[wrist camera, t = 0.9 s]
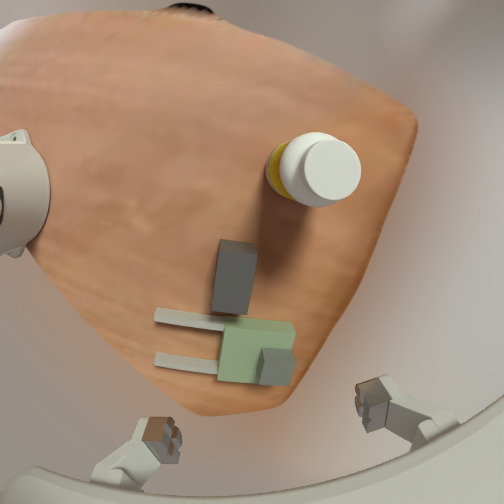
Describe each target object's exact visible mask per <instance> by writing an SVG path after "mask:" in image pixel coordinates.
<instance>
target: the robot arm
mask: <svg viewBox="0 0 504 504" xmlns="http://www.w3.org/2000/svg"><path fill="white" fill-rule="evenodd" d="M15 139H16V141H15ZM49 199H50V185H49V178H48V173H47V169H46V166H45V164H44V161H43V159H42V158H41V156H40V155H39V153H38V152H37V151H36V150H35V149H34V148H33V146H32V145H31V141H30V138H29V134H28V132H27V130H26V129H19V130H16V131H14V132H12V133H9V134H7V135H5V136H2V137H0V256H1V255H3V254H8V255H10V256H11V257H13V258H17V257H20V256H21V255H22V253H23V251H24V249H25V247H26V244H27V243H28V242H29V241H30V240H32V239H33V238H34V237H35V236H36V235H37V234H38V232H39V231H40V230H41V228H42V226H43V224H44V222H45V219H46V216H47V212H48V207H49ZM355 391H356V394H357V396H356V397H355V406H356V410H357V412H358V415H359V416H360V417H362V418H363V419H362V423H363V426H364V428H365V430H366V432H367V433H369V432H372V431H375V430H378V429H381V428H384V427H385V428H386V429H388V430H390V431H391V432H393V433H395V434H397V435H398V436H400V437H402V438H404V439H405V440H407V441H409V442H411V443H412V446H411V449H410V451H409V452H408V453H406V454H404V455H401V456H399V457H396V458H394V459H392V460H389V461H387V462H384V463H382V464H379V465H376V466H374V467H371V468H368V469H365V470H362V471H359V472H356V473H353V474H350V475H346V476H343V477H339V478H336V479H332V480H329V481H325V482H320V483H316V484H312V485H307V486H302V487H298V488H292V489H286V490H281V491H273V492H266V493H257V494H248V495H235V496H207V497H206V496H174V495H161V494H151V493H145V492H144V491H143V490H142V489H141V487H142V485H143V484H144V483H145V482H146V481H147V480H148V479H149V478H150V477H151V476H152V474H153V473H154V472H155V471H156V470H157V469H158V468H159V467H160V466H161V464H178V460H179V455H180V452H179V451H178V449H179V448H180V447H181V445H182V435H181V432H180V430H179V428H178V427H176V426H174V423H175V421H174V420H173V418H172V417H141V418H140V419H139V420H138V423H137V425H136V428H135V431H134V433H133V436H132V439H131V441H127V442H126V443H125V444H123V445H122V446H121V447H120V448H118V449H117V450H115V451H114V452H113V453H111V454H110V455H109V456H107V457H106V458H105V459H103V460H102V461H101V462H99V463H98V464H97V465H96V466H95V469H94V471H93V474H92V476H91V479H90V481H89V482H86V481H82V480H79V479H75V478H71V477H68V476H65V475H62V474H59V473H56V472H53V471H50V470H47V469H45V468H42V467H39V466H31V467H29V468H26V469H24V470H22V471H21V472H19V473H17V474H15V475H13V476H12V477H11V478H10V479H9V481H8V482H7V483H6V485H5V486H4V488H3V490H2V491H1V492H0V504H504V395H502V396H501V397H500V398H499V399H497V400H496V401H495V402H493V403H492V404H490V405H489V406H488V407H486V408H485V409H484V410H482V411H481V412H479V413H478V414H476V415H475V416H473V417H472V418H470V419H469V420H467V421H466V422H464V423H462V424H461V425H460V423H459V422H458V421H457V419H456V418H455V417H454V416H453V414H452V413H451V412H450V410H449V409H448V408H445V407H443V406H439V405H437V404H434V403H431V402H428V401H425V400H422V399H419V398H416V397H413V396H410V395H408V394H405V395H403V394H402V392H401V391H400V390H399V388H398V387H397V385H396V384H395V382H394V381H393V380H392V379H391V377H390V375H389V374H385V375H382V376H379V377H377V378H373V379H370V380H368V381H365V382H362V383H359V384H356V386H355Z"/></svg>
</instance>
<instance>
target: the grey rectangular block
mask: <svg viewBox="0 0 504 504" xmlns="http://www.w3.org/2000/svg"><path fill="white" fill-rule="evenodd" d="M257 259H258V254H257V251H256V249H255V246H254V244H251V243H245V242H238V241H231V240H224V239H220V245H219V251H218V258H217V265H216V272H215V279H214V286H213V294H212V306H211V311H217V312H225V313H233V314H242V315H247V311H248V306H249V301H250V296H251V291H252V285H253V280H254V275H255V270H256V264H257Z"/></svg>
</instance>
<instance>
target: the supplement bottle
mask: <svg viewBox="0 0 504 504" xmlns="http://www.w3.org/2000/svg"><path fill="white" fill-rule="evenodd" d="M360 176H361V166H360V161H359V159H358V156H357V155H356V153H355V152H354V150H353V149H352V148H351V147H350V146H349V145H347V144H346V143H344V142H342V141H339V140H337V139H336V138H334V137H332V136H330V135H328V134H324V133H318V132H313V133H307V134H303V135H301V136H299V137H297V138H295V139H292V140H290V141H288V142H286V143H283V144H281V145H279V146H278V147H276V148H275V149H274V150H273V151H272V152H271V154H270V155H269V157H268V159H267V162H266V177H267V180H268V182H269V184H270V186H271V187H272V188H273V189H274V190H275V191H276V192H277V193H278V194H280V195H282V196H284V197H286V198H289V199H292V200H294V201H297V202H299V203H302V204H304V205H307V206H311V207H325V206H329V205H332V204H334V203H336V202H337V201H339V200H341V199H344V198H346V197H347V196H349V195H350V194H351V193H352V192H353V191H354V190H355V189H356V187H357V186H358V183H359V181H360Z"/></svg>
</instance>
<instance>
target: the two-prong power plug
mask: <svg viewBox="0 0 504 504" xmlns="http://www.w3.org/2000/svg"><path fill="white" fill-rule="evenodd" d="M154 321H157V322H163V323H169V324H175V325H182V326H188V327H195V328H203V329H210V330H218V331H223V332H222V339H221V345H220V352H219V359H218V361H216V360H208V359H200V358H192V357H185V356H179V355H172V354H166V353H160V352H157V353H156V356H155V359H154V365H155V366H160V367H166V368H172V369H179V370H185V371H193V372H200V373H208V374H217V380H219V381H229V382H242V383H257V384H258V385H273V386H289V383H290V380H291V378H292V375H293V372H294V369H295V366H296V360H295V358H294V355H293V352H292V350H291V349H292V345H293V342H294V339H295V335H296V332H295V330H294V328H293V325H292V323H291V322H285V321H274V320H263V319H254V318H244V317H236V316H227V315H225V317H222V316H214V315H206V314H199V313H192V312H185V311H179V310H172V309H166V308H160V307H157V309H156V312H155V314H154Z"/></svg>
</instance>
